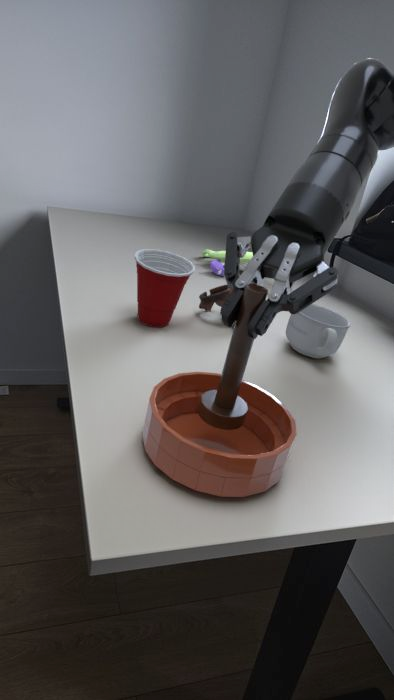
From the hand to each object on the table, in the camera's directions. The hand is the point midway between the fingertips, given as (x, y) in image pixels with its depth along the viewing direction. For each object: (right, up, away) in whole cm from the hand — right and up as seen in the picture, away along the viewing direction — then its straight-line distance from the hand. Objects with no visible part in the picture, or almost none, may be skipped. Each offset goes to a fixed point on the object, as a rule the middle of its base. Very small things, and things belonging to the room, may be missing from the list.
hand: (238, 328), depth 51 cm
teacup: (+17, -3, +42) cm, 45 cm away
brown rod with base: (-1, -10, +7) cm, 12 cm away
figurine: (+10, +18, +82) cm, 84 cm away
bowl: (-2, -14, +9) cm, 17 cm away
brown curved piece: (+1, +4, +49) cm, 49 cm away
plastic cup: (-12, +3, +40) cm, 42 cm away
